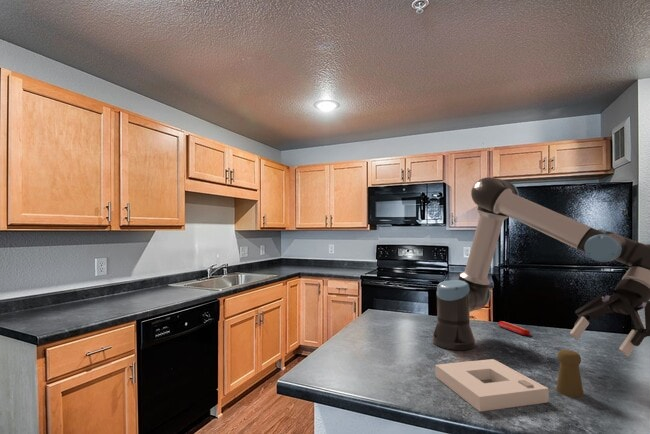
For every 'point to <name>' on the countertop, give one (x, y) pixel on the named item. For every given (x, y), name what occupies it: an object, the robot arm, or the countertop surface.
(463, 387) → the socket block
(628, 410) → the countertop surface
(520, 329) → the red rounded rod
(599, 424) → the countertop surface
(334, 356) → the countertop surface
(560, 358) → the cork
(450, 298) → the robot arm
